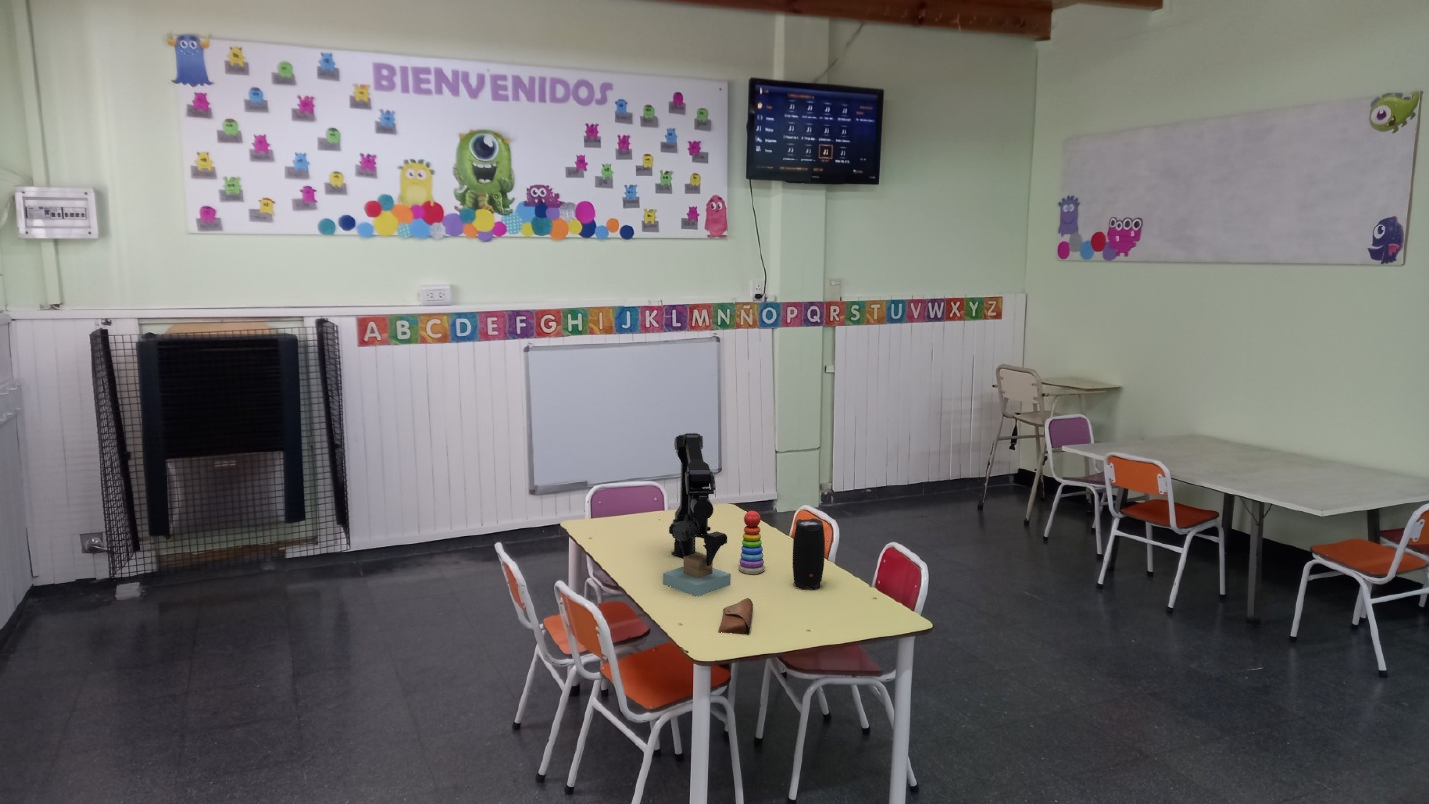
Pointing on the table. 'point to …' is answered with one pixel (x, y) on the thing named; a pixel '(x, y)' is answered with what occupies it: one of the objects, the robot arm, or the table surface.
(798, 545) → the portable speaker
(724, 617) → the sunglasses case
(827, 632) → the table surface
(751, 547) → the stacking toy
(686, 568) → the walnut block
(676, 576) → the teal base box
